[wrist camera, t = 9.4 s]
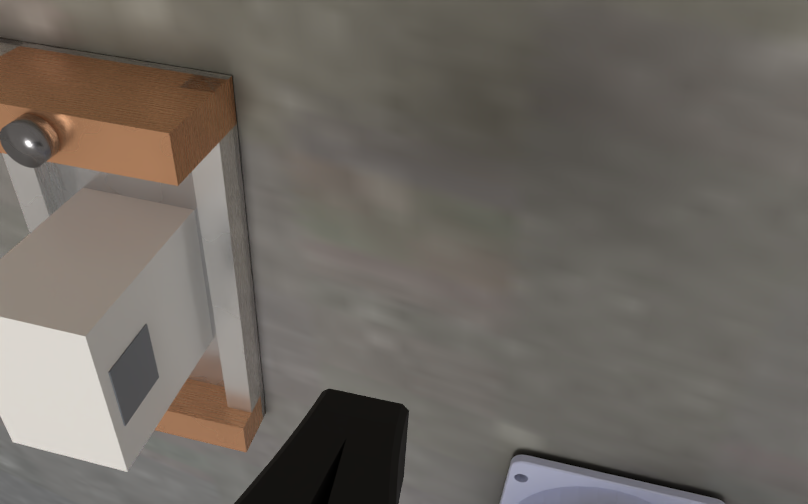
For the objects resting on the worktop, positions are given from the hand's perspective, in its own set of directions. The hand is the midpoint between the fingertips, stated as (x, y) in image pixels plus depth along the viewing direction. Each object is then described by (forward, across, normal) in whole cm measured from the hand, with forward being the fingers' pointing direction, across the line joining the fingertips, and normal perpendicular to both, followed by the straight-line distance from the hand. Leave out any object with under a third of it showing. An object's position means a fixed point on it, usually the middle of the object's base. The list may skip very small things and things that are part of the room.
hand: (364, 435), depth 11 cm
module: (+10, +10, +6) cm, 16 cm away
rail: (+10, +10, +6) cm, 16 cm away
